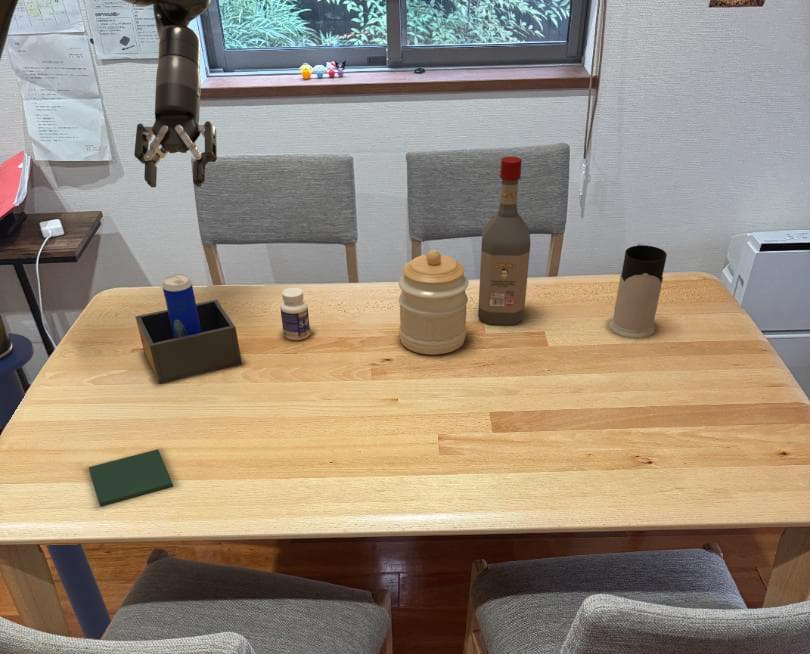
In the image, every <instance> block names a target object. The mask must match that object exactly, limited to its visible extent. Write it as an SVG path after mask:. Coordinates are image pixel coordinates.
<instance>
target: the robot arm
mask: <svg viewBox="0 0 810 654" xmlns="http://www.w3.org/2000/svg"><path fill="white" fill-rule="evenodd" d="M121 1H122V2H125V3H128V4H131V5H134V6H137V7H142V8H143V7H144V8H145V7H148V6H149V7H150V6H151V5H152V7H153V8H152V10H153V16H154V20H155V27H156V31H157V32H156V33H157V35H158V39H159V41H158V59H157V60H158V61H157V68H156V74H155V75H156V76H155V77H156V78H155V96H154V97H155V98H154V99H155V100H154V119H155V120H154V122H153V125H152V126H145V125H144V124H143V123H141V122H139V123H138V124H137V125H136V131H135V143H134V154H133V155H134V158H136V159H137V160H138V161H139V162H140V163H141V164H143V165H144V176H143V177H144V178H143V179H144V181H145V182H146V184H147V185H148V186H149V187H150V188H156V187H157V176H158V175H157V174H158V167H157V165H158V163H160V161H161V159H164V158H165V157H166V156H167V154H168V153H169V154H177V153H182V154H187V152H188V151H189V152H190V153H191V154H192V156H193V157H194V159H195V160H193V165H192V166H193V168H192V182H193V184H194V185H195V186H196V187H200V188H201V187H203V184H204V183H205V180H206V166H207V164H208V163H210V162H211V163H215V162H217V159H218V151H217V150H218V149H217V148H218V147H217V129H216V128H215V126H214V125H213V124H212V123H211V121H209V120H207V121H205V122H204V124H199V122H200V108H201V94H202V88H201V87H202V86H201V84H202V83H201V73H200V72H201V42H200V41H201V40H200V37H199V36H198V34H197V33H196V32H195V30H193V29H191V28H190V23H191V22H192V21H193V20H195V19H197V17H199V16H200V15H202V14H204V12H206V11H207V9H208V8H209V6H210V4H211V0H121ZM18 2H19V0H0V61H2V56H3V53H4V50H5V47H6V43H7V38H8V35H9V31H10V28H11V24H12V20H13V17H14V13H15V12H16V8H17V6H18ZM201 135H202V137H203V138H204V151H203V152H201V150H200V148H199V146H197V144H196V142H197V140H198V139H199V138H200V136H201ZM153 136H155V137H154V139H153V140H152V137H153ZM150 141H151V143H150ZM160 147H161V148H160ZM8 333H9V332H8V331H7V328H6V326H5V322H4V319H3V318H2V315H1V313H0V361H1V360H3V359H5V358H6V357H8V356H9V355H10V354H11V353H12V352H13V349H14V348H13V345H12V342H11V341H10V338H9V336H8Z"/></svg>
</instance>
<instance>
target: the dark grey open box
mask: <svg viewBox="0 0 810 654" xmlns="http://www.w3.org/2000/svg"><path fill="white" fill-rule="evenodd" d="M196 307H197V312H198V317H199V322H200V327H201V332H202V333H197V334H193V335H188V336H183V337H179V338H174V337H173V332H172V328H171V323H170V319H169V314H168V310H167V309H164V310H159V311H155V312H149V313H145V314H139V315H136V316H135V321H136V325H137V329H138V333H139V336H140V341H141V344H142V348H143V352H144V353H143V354H144V355H145V357H146V359H147V361H148V363H149V366H150V367H151V369H152V370H151V371H152V372H153V375H154V376H155V378H156V381H157V383H158V384H163V383H167V382H171V381H177V380H180V379H184V378H188V377H194V376H196V375H197V376H198V375H201V374H205V373H210V372H214V371H219V370H223V369H227V368H230V367H231V368H232V367H235V366H240V365H242V364H243V363H242V356H241V351H240V345H239V339H238V333H237V327H236V325H235V324H234V323H233V321H232V319H231V318H230V316H229V315H228V313H227V311H226V310H225V309H224V308H223V305H222V304H221V303H220V301H219V300H218V299H213V300H207V301H202V302H198V303H197V302H196Z"/></svg>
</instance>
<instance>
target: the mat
mask: <svg viewBox="0 0 810 654" xmlns="http://www.w3.org/2000/svg"><path fill="white" fill-rule="evenodd" d="M88 471H89V474H90V477H91V480H92V483H93V488H94V491H95V493H96V497H97V500H98V504H99V506H100V507H103V506H107V505H110V504H113V503H116V502H120V501H125V500H127V499H131V498H135V497H139V496H143V495H145V494H150V493H153V492H157V491H160V490H164V489H168V488H171V487H174V484H173V481H172V478H171V477H170V474H169V472H168V468H167V466H166V464H165V462H164V459H163V457H162V455H161V453H160V450H159V449H158V448H157V449H153V450H149V451H146V452H141V453H138V454H134V455H131V456H126V457H122V458H119V459H114V460H110V461H108V462H104V463H100V464H96V465H92V466H89V467H88Z"/></svg>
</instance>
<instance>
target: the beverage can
mask: <svg viewBox="0 0 810 654" xmlns="http://www.w3.org/2000/svg"><path fill="white" fill-rule="evenodd" d="M161 287H162V291H163V296H164V301H165V305H166V310H168V314H169V319H170V323H171V328H172V332H173V337H174V338H179V337H183V336H188V335H193V334H197V333H202V332H201V327H200V322H199V317H198V312H197V307H196V304H197V302H196V297H195V291H194V288H193V283H192V281H191V279H190V277H189V276H188V275H186V274H181V273H179V274H177V273H176V274H171V275H168V276H166V277H164V278H163V280H162V285H161Z"/></svg>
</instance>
